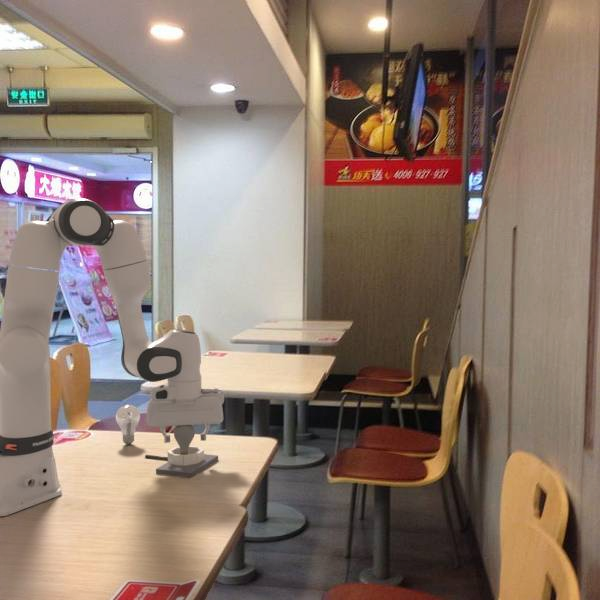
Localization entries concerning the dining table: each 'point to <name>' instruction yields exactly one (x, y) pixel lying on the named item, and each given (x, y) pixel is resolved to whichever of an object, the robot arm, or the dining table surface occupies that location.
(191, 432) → the light bulb
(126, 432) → the light bulb
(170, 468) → the lamp base
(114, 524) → the dining table surface
